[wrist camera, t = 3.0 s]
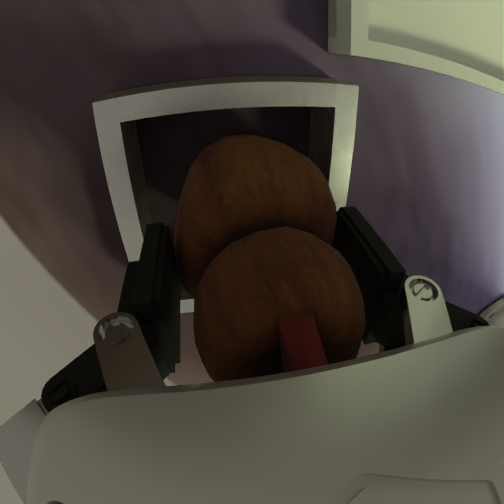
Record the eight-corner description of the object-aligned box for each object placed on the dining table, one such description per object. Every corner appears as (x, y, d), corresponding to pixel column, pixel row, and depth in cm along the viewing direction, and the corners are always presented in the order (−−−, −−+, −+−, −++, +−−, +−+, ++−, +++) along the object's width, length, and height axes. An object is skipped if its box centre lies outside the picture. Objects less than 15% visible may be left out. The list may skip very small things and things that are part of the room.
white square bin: (330, 77, 13) (358, 85, 11) (314, 261, 20) (330, 293, 18) (111, 92, 12) (92, 103, 10) (151, 280, 19) (147, 316, 16)
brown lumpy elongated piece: (199, 104, 13) (243, 554, 1) (311, 136, 15) (538, 415, 3) (169, 225, 17) (166, 543, 5) (266, 243, 19) (353, 515, 7)
